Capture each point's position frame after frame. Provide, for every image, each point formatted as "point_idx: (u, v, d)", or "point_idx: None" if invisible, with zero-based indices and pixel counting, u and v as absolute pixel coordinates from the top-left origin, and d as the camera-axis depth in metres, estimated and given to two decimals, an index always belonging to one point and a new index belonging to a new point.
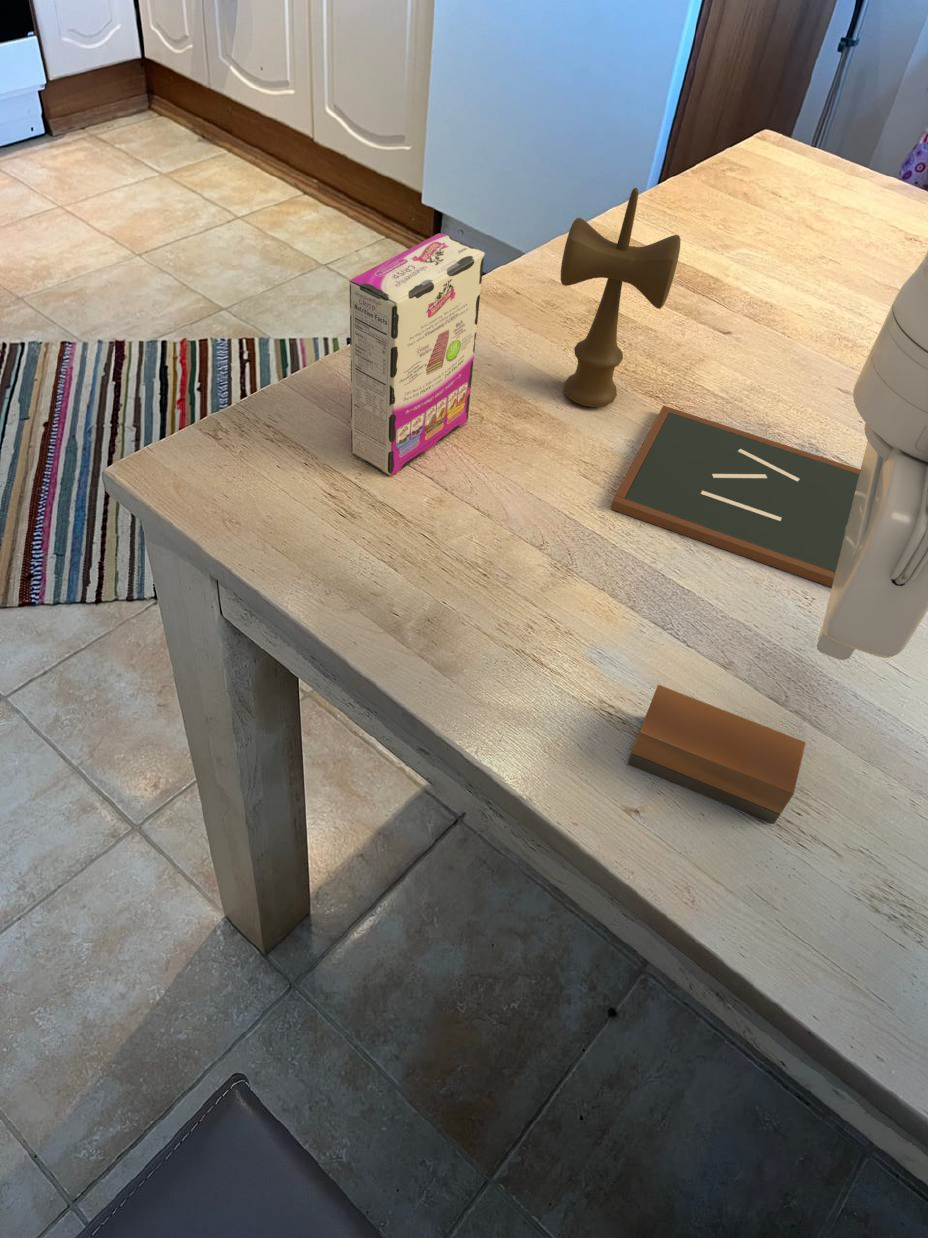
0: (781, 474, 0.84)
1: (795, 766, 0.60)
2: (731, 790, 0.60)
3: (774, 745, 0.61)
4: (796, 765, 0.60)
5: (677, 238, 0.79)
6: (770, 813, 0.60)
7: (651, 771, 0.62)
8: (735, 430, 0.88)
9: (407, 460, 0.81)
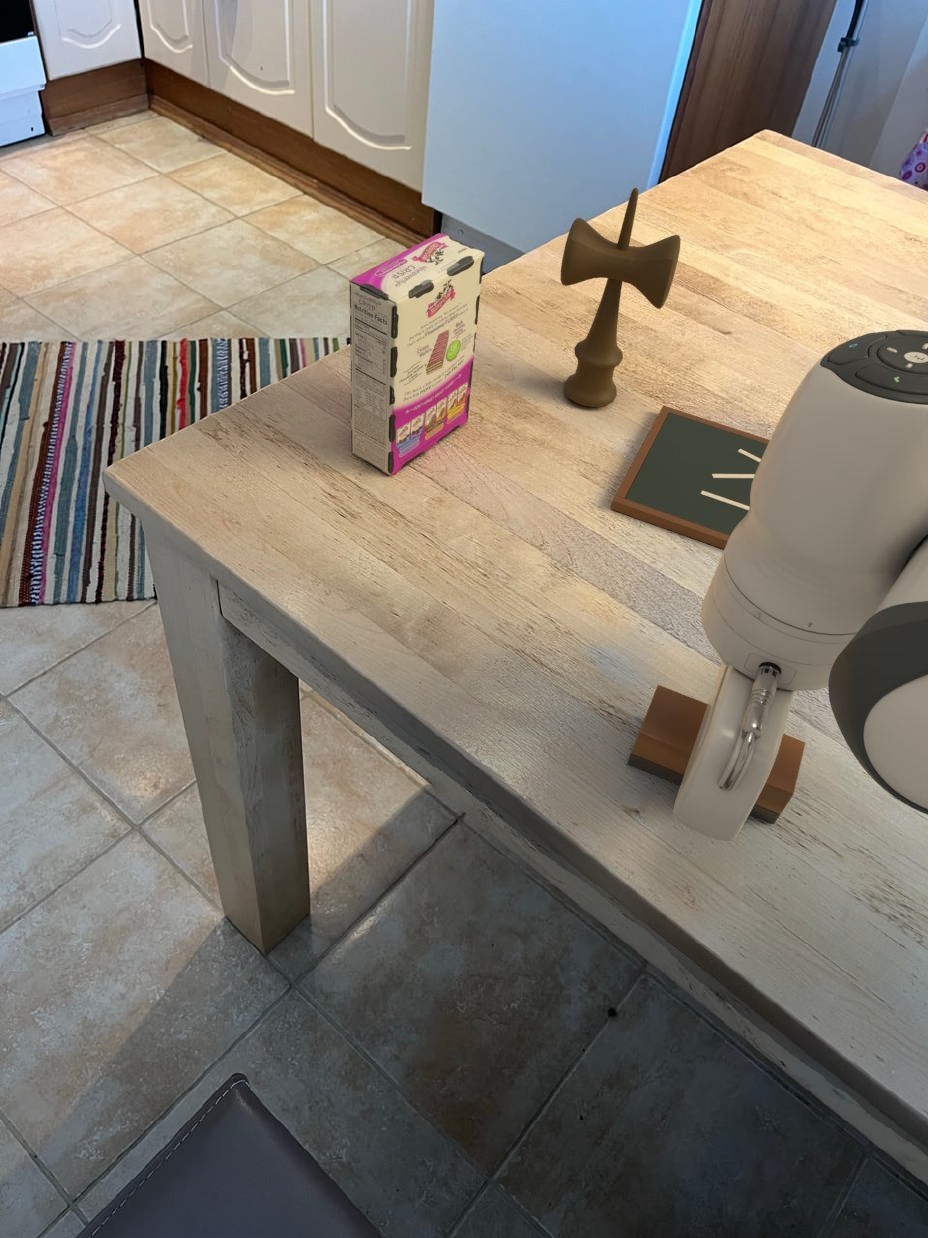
0: None
1: (795, 766, 0.60)
2: None
3: None
4: (796, 765, 0.60)
5: (677, 238, 0.79)
6: (770, 813, 0.60)
7: (651, 771, 0.62)
8: (735, 430, 0.88)
9: (407, 460, 0.81)
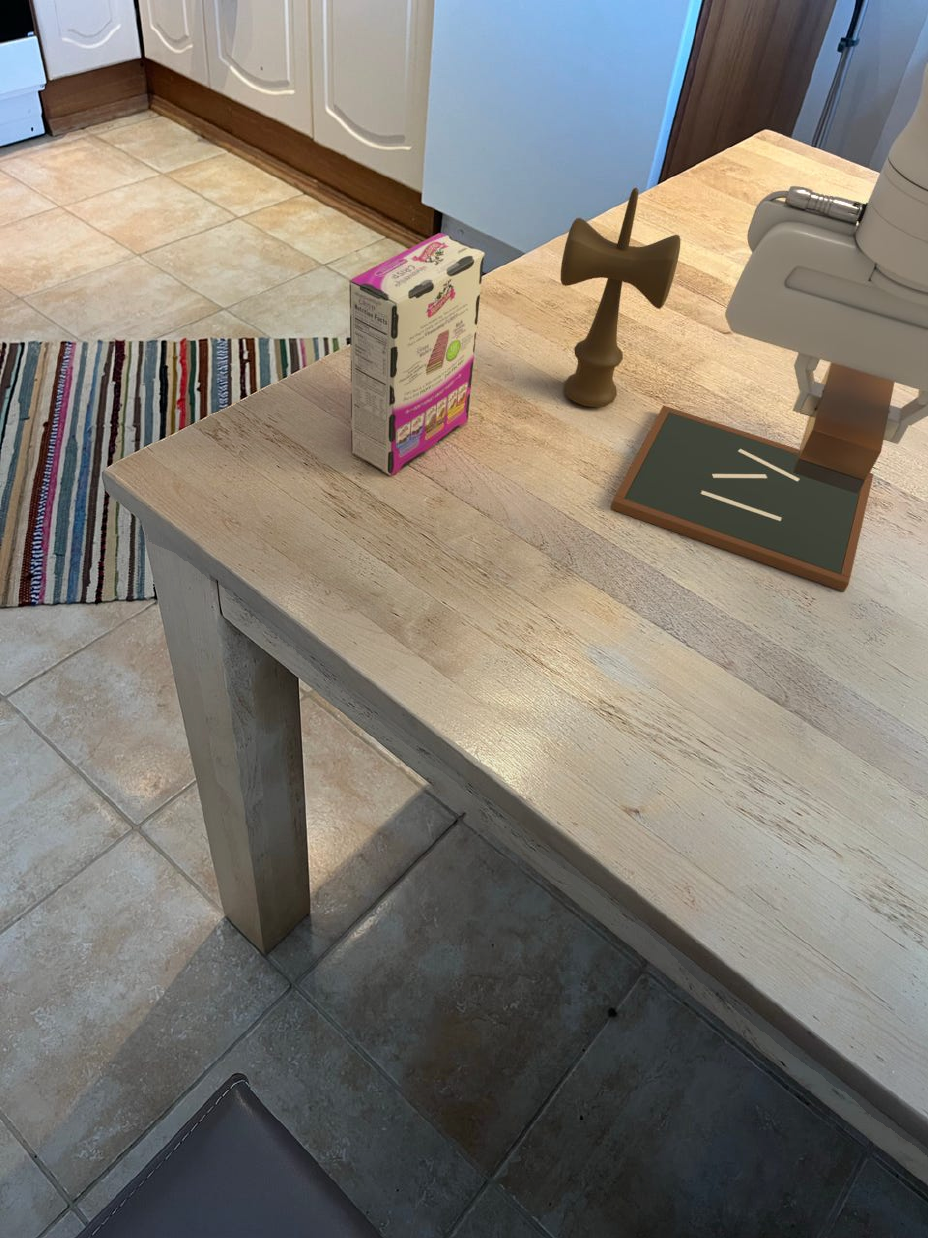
0: (781, 474, 0.84)
1: (846, 437, 0.60)
2: (808, 427, 0.64)
3: (865, 429, 0.61)
4: (847, 438, 0.60)
5: (677, 238, 0.79)
6: (798, 457, 0.63)
7: None
8: (735, 430, 0.88)
9: (407, 460, 0.81)
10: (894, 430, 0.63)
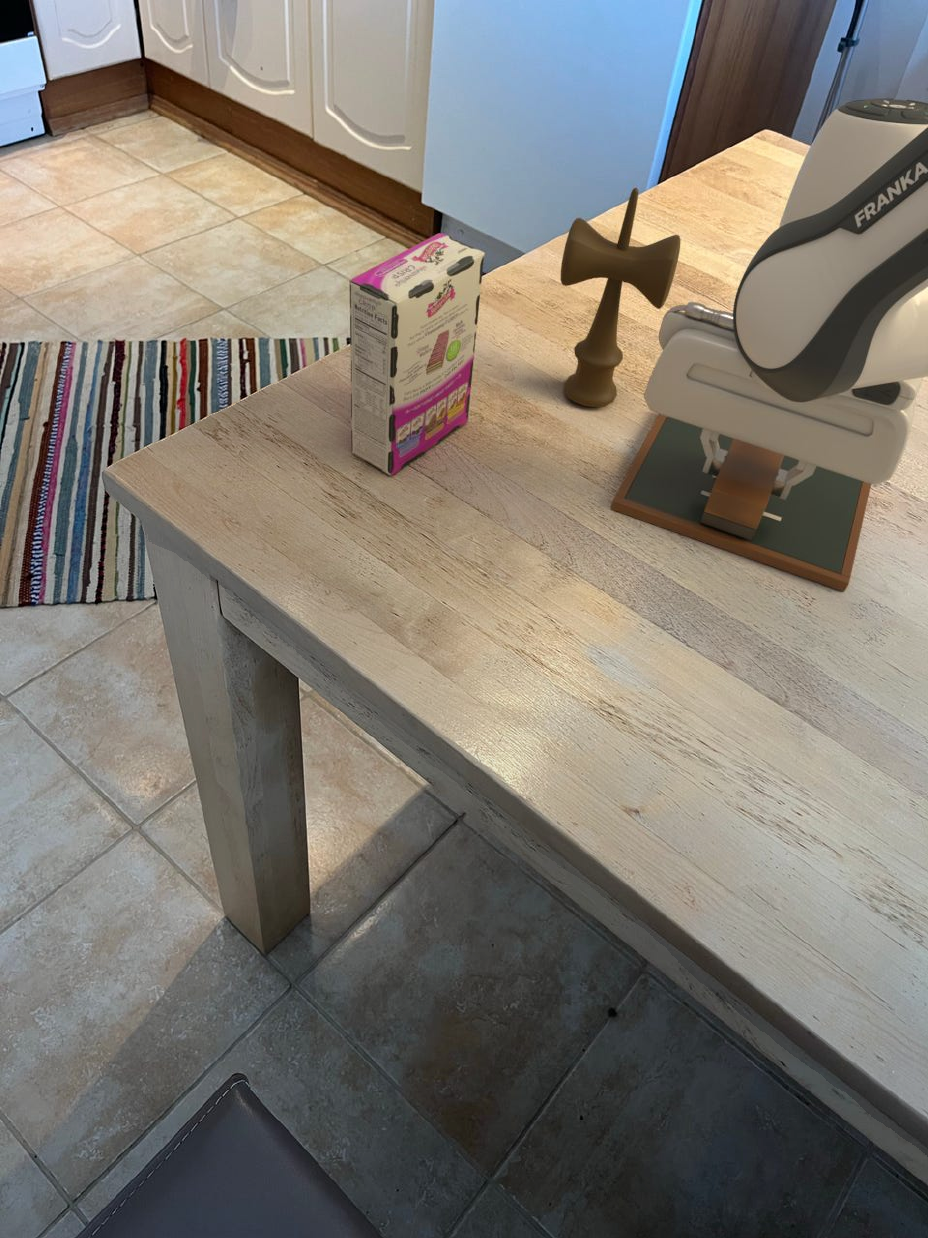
0: None
1: (738, 495, 0.75)
2: None
3: (755, 489, 0.76)
4: (739, 496, 0.75)
5: (677, 238, 0.79)
6: None
7: None
8: None
9: (407, 460, 0.81)
10: (781, 489, 0.78)
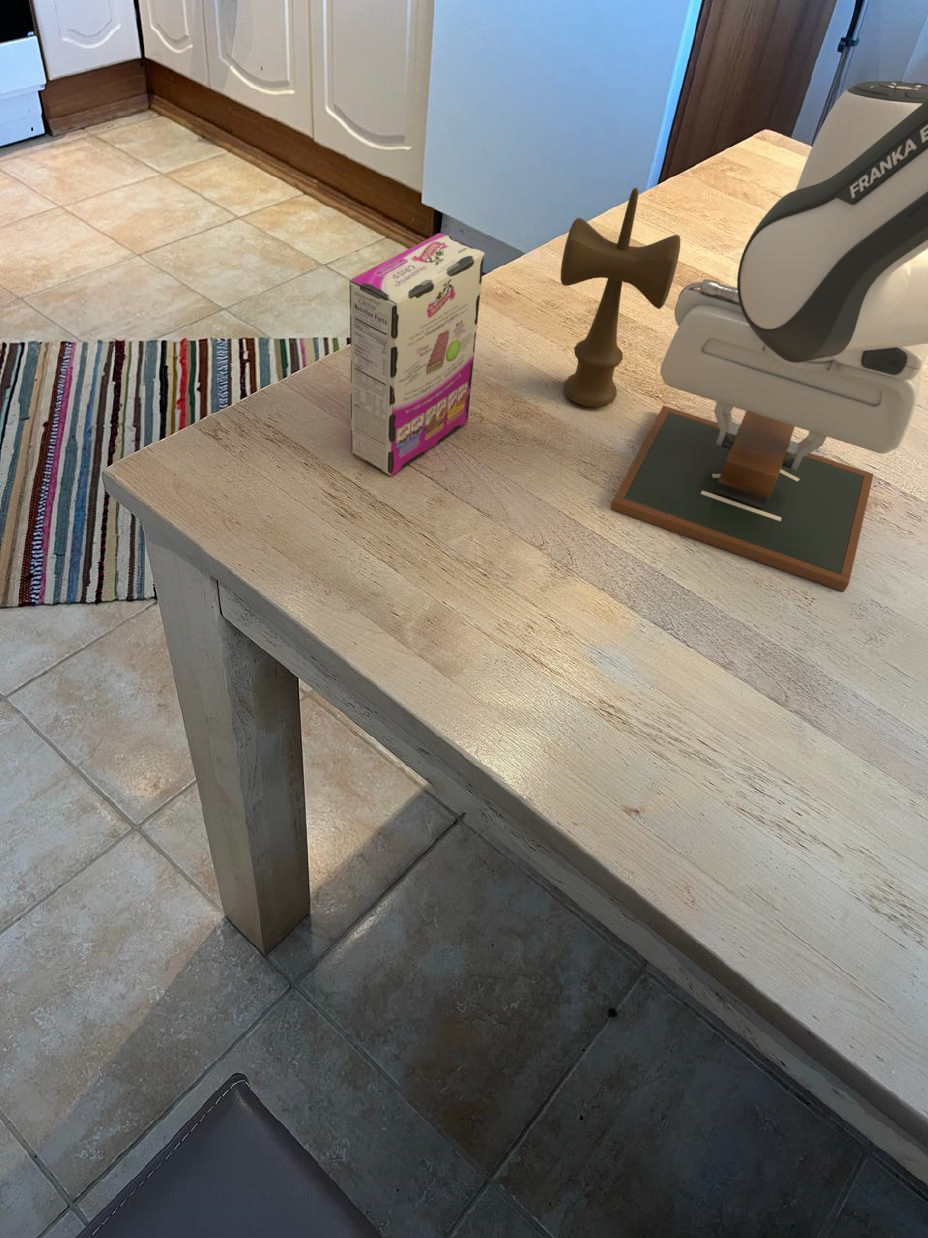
0: (781, 474, 0.84)
1: (751, 465, 0.79)
2: None
3: (767, 459, 0.79)
4: (753, 466, 0.79)
5: (677, 238, 0.79)
6: None
7: None
8: None
9: (407, 460, 0.81)
10: (792, 460, 0.81)
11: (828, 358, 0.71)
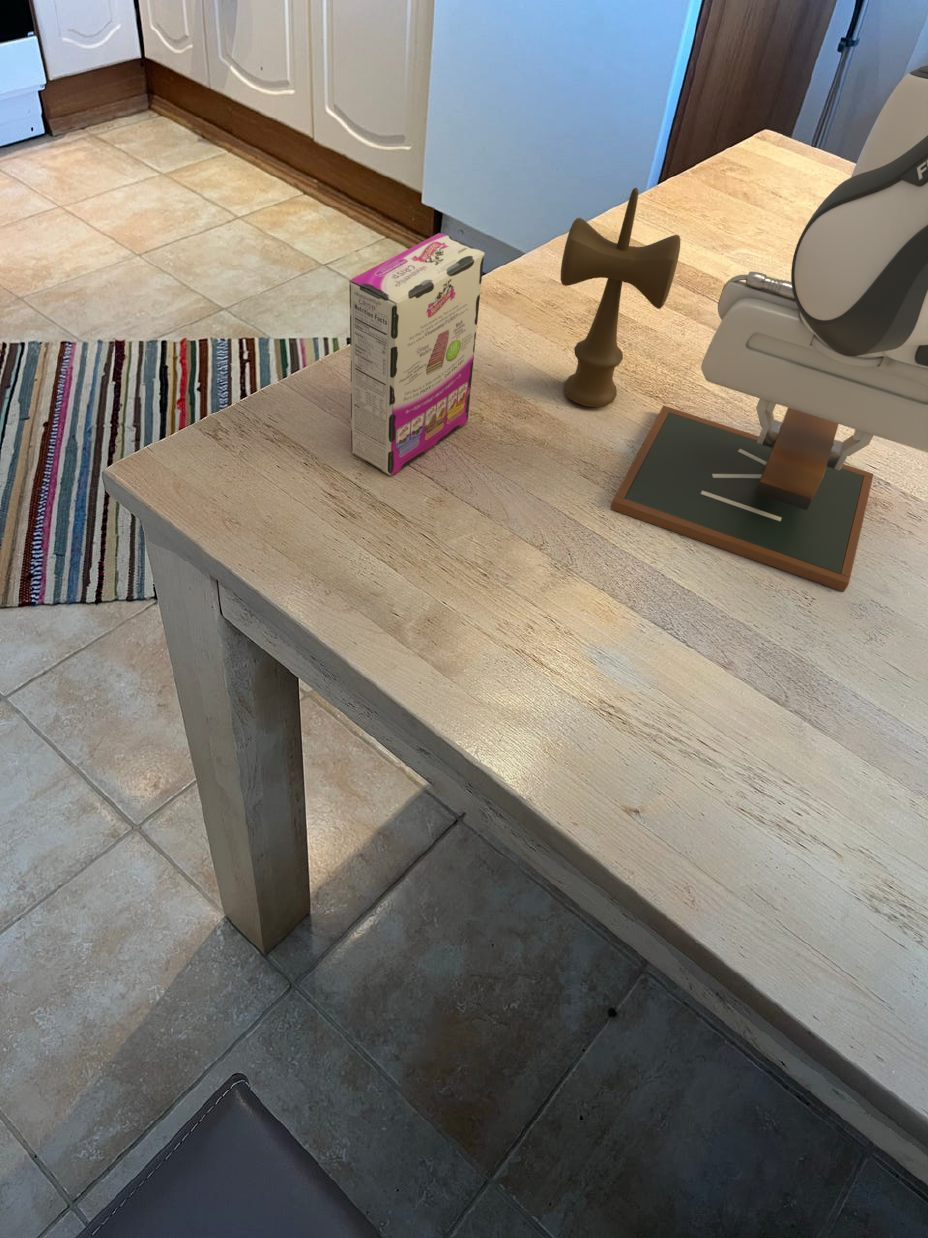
0: None
1: (796, 465, 0.76)
2: None
3: (811, 459, 0.77)
4: (797, 466, 0.76)
5: (677, 238, 0.79)
6: (760, 480, 0.79)
7: None
8: (735, 430, 0.88)
9: (407, 460, 0.81)
10: (836, 459, 0.78)
11: (880, 354, 0.68)
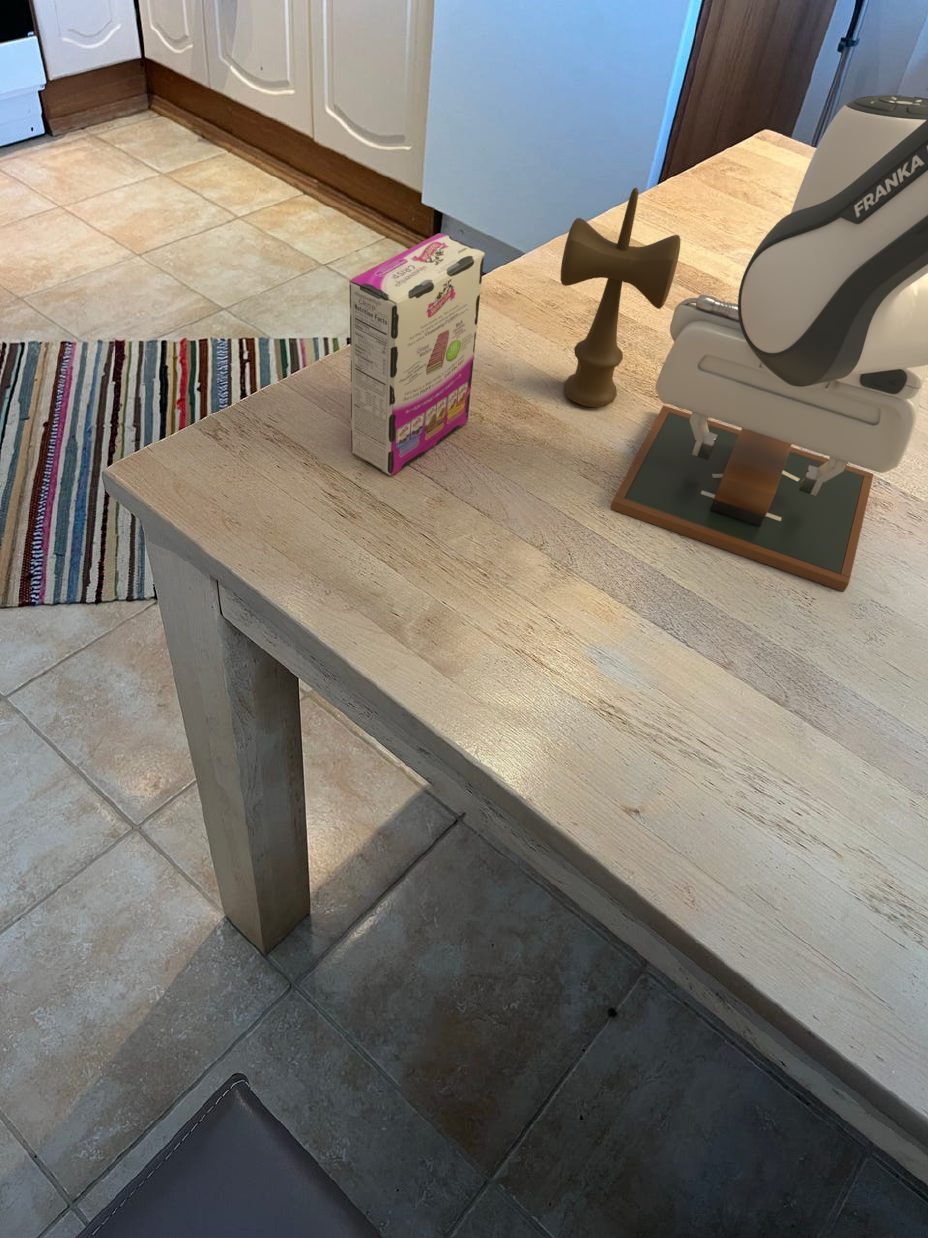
0: None
1: (748, 482, 0.77)
2: None
3: (764, 476, 0.78)
4: (749, 483, 0.77)
5: (677, 238, 0.79)
6: None
7: None
8: (735, 430, 0.88)
9: (407, 460, 0.81)
10: (812, 485, 0.79)
11: None
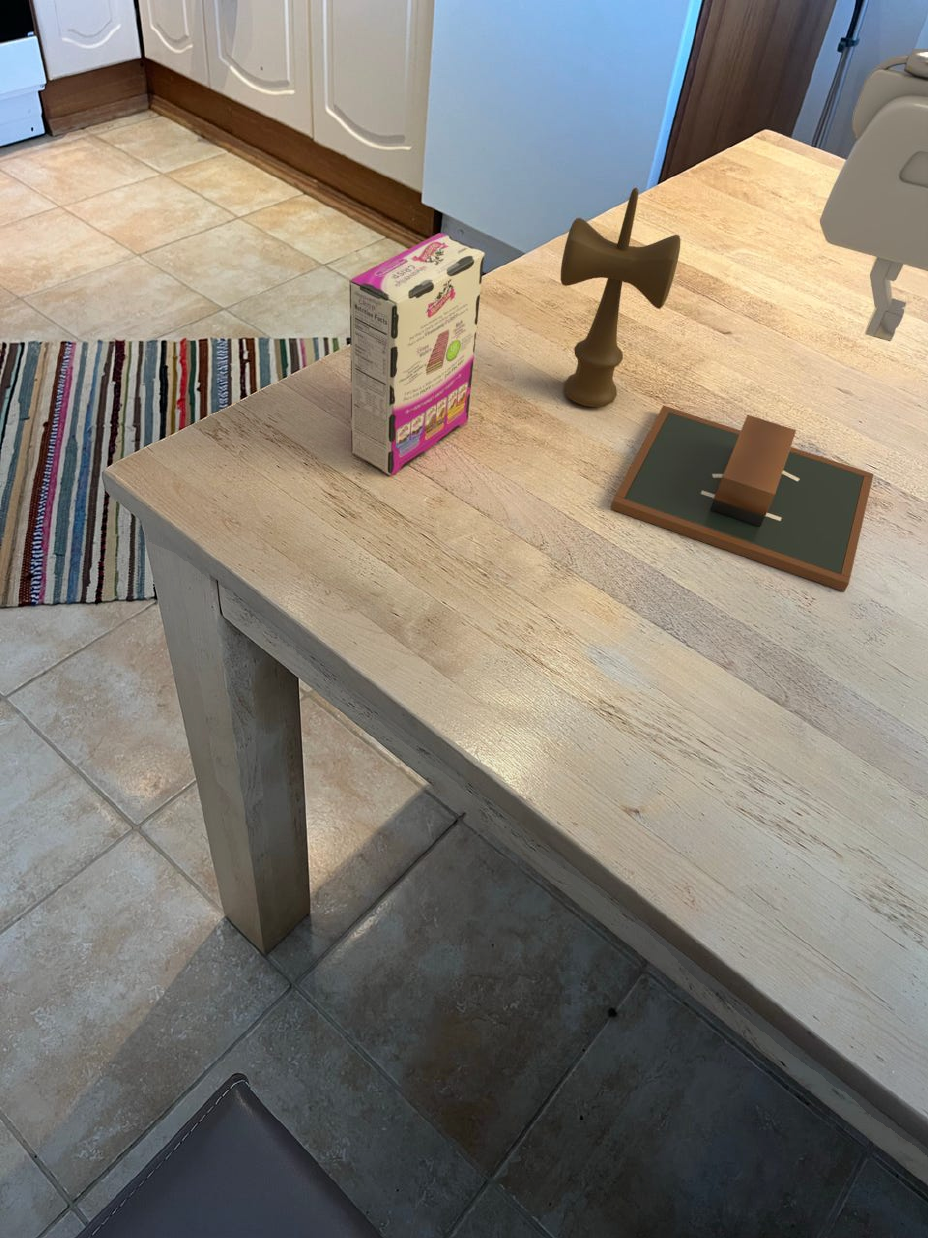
0: None
1: (748, 482, 0.77)
2: None
3: (764, 476, 0.78)
4: (749, 483, 0.77)
5: (677, 238, 0.79)
6: None
7: None
8: (735, 430, 0.88)
9: (407, 460, 0.81)
10: None
11: None
